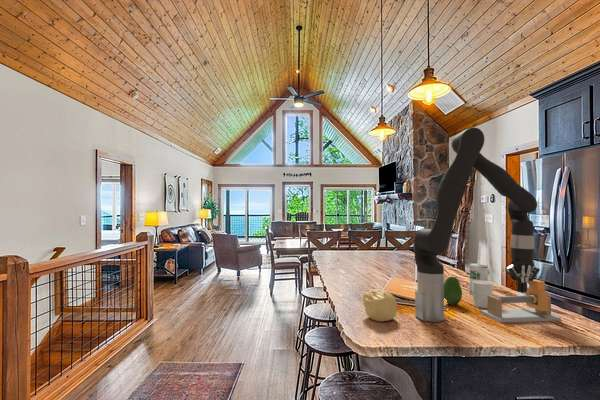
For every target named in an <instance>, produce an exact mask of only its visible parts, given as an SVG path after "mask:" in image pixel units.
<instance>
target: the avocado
mask: <svg viewBox="0 0 600 400" xmlns="http://www.w3.org/2000/svg"><path fill="white" fill-rule="evenodd" d="M444 281H445V282H444V298H445V299H446V300H447V302H446V304H448V305H450V306H451V305H452V306H456V305H458V304H459V303H460V302H461V300H462V297H463V289H462V287H461V284H460V281H459V279H458V277H456V276H449V277H448V278H446V279H445V280H444Z"/></svg>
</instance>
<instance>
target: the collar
mask: <svg viewBox="0 0 600 400" xmlns="http://www.w3.org/2000/svg"><path fill="white" fill-rule="evenodd" d="M545 287H546V282H545V281H544V280H540V279H535V278H534V279H533V281H529V282H528V287H527V291H526V293H525V296H530V295H538V303H531V302H530V303H525V306H527V307H529V308H531V309H537V310H540V311H548V297H549V291H546V288H545Z"/></svg>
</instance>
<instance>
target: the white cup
mask: <svg viewBox="0 0 600 400" xmlns="http://www.w3.org/2000/svg"><path fill="white" fill-rule="evenodd" d="M472 292H473V294H472V301H473V303H472V304H473V306H475V307H478V308H482V309H488V296H490V295H493V294H494V282H492V281H489V280H488V281H483V280H473V281H472ZM493 296H494V295H493Z"/></svg>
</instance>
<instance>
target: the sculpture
mask: <svg viewBox="0 0 600 400" xmlns="http://www.w3.org/2000/svg"><path fill="white" fill-rule="evenodd" d="M362 296H363V297H362V299H363V307H364V308H365V314H366V316H367V317H368V318H370V319H371V320H372V321H374V322H387V321H391V320H394V318H395V317H396V316H397V314H398V303H397V300H396V298H395V297H394V295H393V294H392V293H390V292H388V291H386V290H381V289H379V288H376V289H372V290H368V291H367V292H366V293H364V294H363V295H362Z"/></svg>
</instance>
